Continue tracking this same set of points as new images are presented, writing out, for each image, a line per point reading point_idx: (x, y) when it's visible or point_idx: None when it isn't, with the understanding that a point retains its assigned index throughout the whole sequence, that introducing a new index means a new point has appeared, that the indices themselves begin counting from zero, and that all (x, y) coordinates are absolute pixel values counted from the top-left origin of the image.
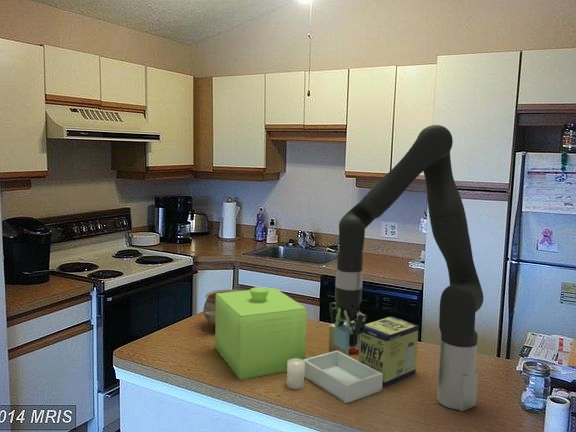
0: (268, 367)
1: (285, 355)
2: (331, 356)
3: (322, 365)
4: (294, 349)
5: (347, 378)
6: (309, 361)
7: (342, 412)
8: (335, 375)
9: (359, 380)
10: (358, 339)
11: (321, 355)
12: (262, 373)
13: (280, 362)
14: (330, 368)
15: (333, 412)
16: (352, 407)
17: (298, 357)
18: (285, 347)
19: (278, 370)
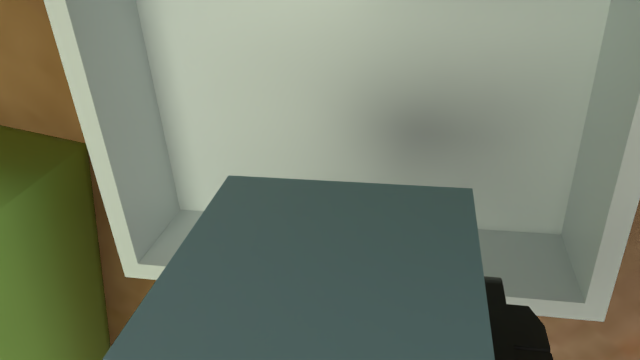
0: (87, 345)
1: (41, 312)
2: (92, 28)
3: (141, 100)
4: (9, 285)
5: (349, 36)
6: (139, 231)
7: (623, 310)
8: (269, 77)
9: (621, 206)
10: (478, 255)
11: (96, 137)
12: (104, 347)
13: (68, 307)
14: (161, 33)
15: (587, 337)
16: (632, 243)
17: (45, 223)
18: (5, 354)
19: (95, 286)
